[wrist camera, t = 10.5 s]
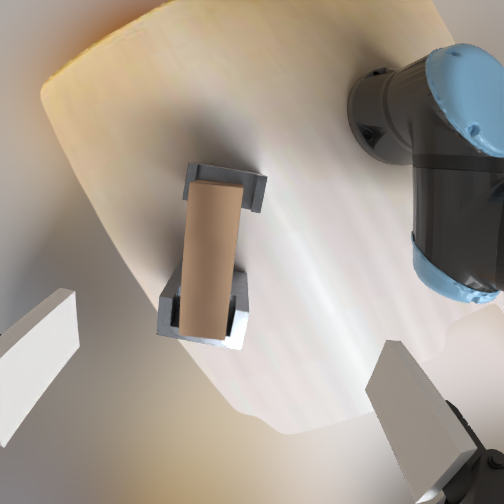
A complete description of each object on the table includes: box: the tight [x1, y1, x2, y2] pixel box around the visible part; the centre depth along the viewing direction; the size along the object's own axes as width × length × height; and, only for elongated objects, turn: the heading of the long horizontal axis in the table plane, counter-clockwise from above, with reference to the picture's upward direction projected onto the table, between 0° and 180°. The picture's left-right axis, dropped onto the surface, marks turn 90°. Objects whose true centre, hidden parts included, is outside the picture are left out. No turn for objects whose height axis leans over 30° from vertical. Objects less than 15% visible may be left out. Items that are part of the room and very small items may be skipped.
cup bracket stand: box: [157, 163, 267, 350], centre depth 39 cm, size 10×20×13 cm, turn 169°
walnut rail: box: [179, 180, 243, 341], centre depth 34 cm, size 5×16×6 cm, turn 173°
